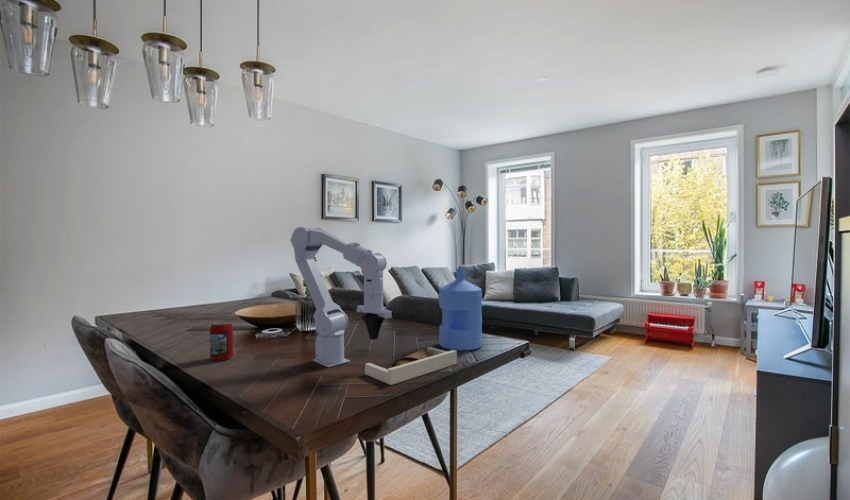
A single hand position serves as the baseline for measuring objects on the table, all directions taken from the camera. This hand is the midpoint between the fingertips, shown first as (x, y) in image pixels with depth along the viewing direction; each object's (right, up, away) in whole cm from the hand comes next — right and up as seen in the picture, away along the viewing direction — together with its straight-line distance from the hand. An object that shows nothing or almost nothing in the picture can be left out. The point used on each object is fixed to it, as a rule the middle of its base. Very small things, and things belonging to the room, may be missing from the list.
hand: (373, 338), depth 120 cm
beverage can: (-51, -9, +11) cm, 53 cm away
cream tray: (+12, -9, -1) cm, 15 cm away
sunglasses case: (+14, -10, +2) cm, 17 cm away
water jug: (+28, -8, +25) cm, 39 cm away
